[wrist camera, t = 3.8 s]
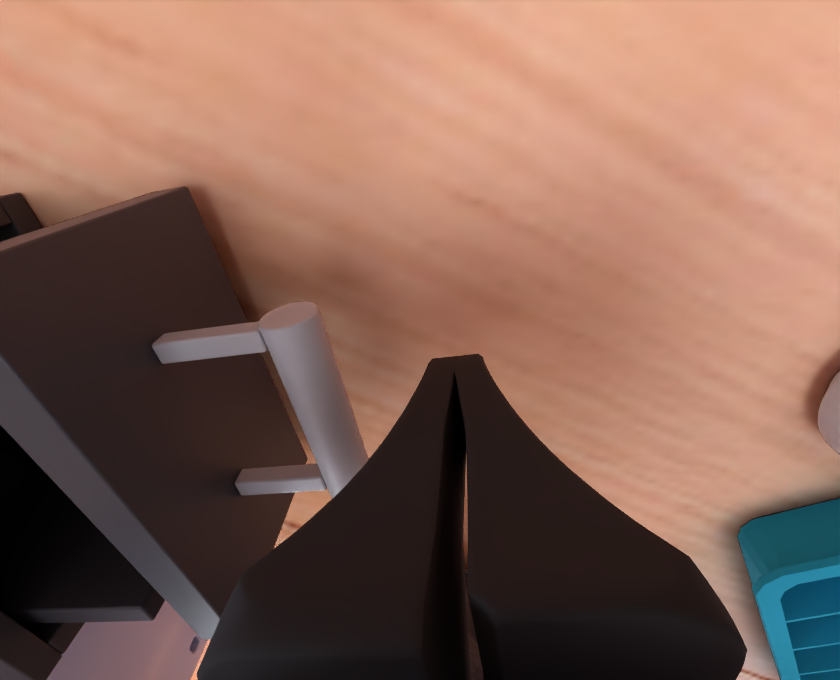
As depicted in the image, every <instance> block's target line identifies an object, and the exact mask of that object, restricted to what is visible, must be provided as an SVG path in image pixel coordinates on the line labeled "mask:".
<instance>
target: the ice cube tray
mask: <svg viewBox="0 0 840 680" xmlns="http://www.w3.org/2000/svg"><path fill="white" fill-rule="evenodd" d="M738 540H739V544H740V547H741V550H742V553H743V557H744V560H745V563H746V566H747V570H748V573H749V576H750V579H751V583H752V591H753V594H754V597H755V600H756V603H757V607H758V610H759V613H760V616H761V620H762V623H763V626H764V629H765V632H766V636H767V639H768V642H769V645H770V648H771V652H772V655H773V658H774V661H775V664H776V668H777V671H778V674H779V677H780V680H840V498H839V499H834V500H830V501H826V502H822V503H818V504H814V505H810V506H805V507H801V508H797V509H793V510H789V511H785V512H781V513H777V514H772V515H768V516H764V517H760V518H756V519H752V520H751V521H750V522H748V523H747V524H745V525H744V526H743V527H741V529H740V532H739V534H738Z"/></svg>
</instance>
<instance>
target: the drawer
mask: <svg viewBox="0 0 840 680" xmlns="http://www.w3.org/2000/svg"><path fill="white" fill-rule="evenodd" d="M267 350H269V352H270V355H271V357H272V359H273V362H274V364H275V366H276V369H277V371H278V373H279V376H280V378H281V380H282V383H283V385H284V387H285V390H286V392H287V394H288V397H289V399H290V401H291V404H292V406H293V408H294V411H295V413H296V415H297V418H298V420H299V422H300V425H301V427H302V429H303V432H304V434H305V436H306V439H307V441H308V443H309V446H310V448H311V450H312V453H313V455H314V457H315V460H316V462H317V463H316V464H306V462H307V456H306V454H305V452H304V449H303V447H302V445H301V443H300V440H299V438H298V436H297V434H296V431H295V429H294V427H293V424H292V422H291V420H290V418H289V415H288V413H287V411H286V409H285V406H284V404H283V402H282V400H281V397H280V395H279V393H278V390H277V388H276V386H275V384H274V381H273V379H272V377H271V375H270V372H269V370H268V368H267V366H266V363H265V361H264V359H263V356H262V354H261V352H266V351H267ZM368 460H369V459H368V456H367V453H366V450H365V447H364V444H363V441H362V438H361V435H360V432H359V428H358V425H357V422H356V419H355V416H354V413H353V410H352V407H351V404H350V401H349V398H348V395H347V392H346V389H345V386H344V383H343V380H342V377H341V374H340V371H339V368H338V365H337V362H336V359H335V356H334V353H333V350H332V347H331V344H330V341H329V338H328V335H327V332H326V329H325V326H324V323H323V320H322V317H321V314H320V311H319V308H318V306H317V305H316V304H315V303H313V302H309V301H300V302H293V303H289V304H285V305H282V306H279V307H277V308H275V309H273V310H271V311H269V312H268V313H266V314H265V315H264V316H262V317H261V319H260V320H259V321H258V322H250V323H248V322H247V320H246V318H245V316H244V313H243V311H242V309H241V307H240V304H239V302H238V300H237V298H236V295H235V293H234V291H233V288H232V286H231V284H230V282H229V279H228V277H227V275H226V273H225V270H224V268H223V266H222V264H221V261H220V259H219V257H218V254H217V252H216V250H215V248H214V245H213V243H212V241H211V239H210V236H209V234H208V232H207V230H206V227H205V225H204V223H203V220H202V218H201V216H200V214H199V211H198V209H197V207H196V205H195V202H194V200H193V198H192V196H191V193H190V191H189V189H188V187H185V186H184V187H178V188H173V189H167V190H162V191H156V192H151V193H148V194H145V195H142V196H139V197H136V198H133V199H130V200H127V201H124V202H121V203H118V204H115V205H112V206H109V207H106V208H103V209H99V210H96V211H93V212H90V213H87V214H84V215H81V216H78V217H75V218H72V219H69V220H66V221H63V222H60V223H57V224H54V225H51V226H48V227H45V228H42V229H39V230H36V231H33V232H30V233H26V234H23V235H20V236H17V237H14V238H11V239H8V240H5V241H2V242H0V610H1V611H2V612H4V613H5V614H6V615H8V616H9V617H10V618H12V619H13V620H15V621H16V622H17V623H19V624H27V623H75V622H122V621H153V620H154V619H155V618H156V616H157V614H158V612H159V611H160V609H161V607H162V605H163V603H164V602H165V600H166V601H167V602H168V603H169V604H170V606H171V607H172V608H173V609H174V610H175V611H176V612H177V613H178V614H179V615H180V616H181V617H182V618H183V619H184V620H185V621H186V623H187V624H188V625H189V626H190V627H191V628H192V629H193V630H194V631H195V632H196V633H197V634H198V635H199V636H200V637H201V638H202V639H203V640H208V639H212V637H213V634H214V632H215V630H216V627H217V625H218V623H219V620H220V618H221V615H222V613H223V611H224V609H225V606H226V604H227V602H228V600H229V598H230V596H231V594H232V592H233V590H234V588H235V586H236V585H237V583H238V581H239V579H240V577H241V575H242V573H243V572H244V571H246V570H247V569H248V568H250V567H251V566H252V565H254V564H255V563H256V562H258V561H259V560H260V559H262V558H263V557H264V556H265V555H267V554H268V553H269V552H271V551H272V550H273V549H274V546H275V543H276V541H277V538H278V535H279V533H280V530H281V528H282V525H283V522H284V520H285V517H286V514H287V512H288V509H289V507H290V504H291V501H292V499H293V496H294V493H295V492H304V491H319V490H326V489H327V488H328V490H329V493H330V495H331V497H332V498H334V497H335V496H336V495H337V494H338V493H339V492H340V491H341V490H342V489H343V488H344V487H345V486H346V485H347V483H348V482H349V481H350V480H351V479H352V478H353V477H354V476H355V475H356V474H357V472H358V471H359V470H360V469H361V468H362V467H363V466H364V465H365V463H366V462H367V461H368Z"/></svg>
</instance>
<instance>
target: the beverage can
mask: <svg viewBox="0 0 840 680" xmlns="http://www.w3.org/2000/svg"><path fill="white" fill-rule="evenodd" d="M818 428H819V431H820V433H821V435H822V437H823V438H824V440H825V441H826V442H827V443H828V444H829V445H830V446H831V447H832V448H833V449H834V450H835V451H836V452H837V453H838V454H839V455H840V371H839V372H838V373H837V374H836V376H835V377H834V378H833V380H832V382H831V383H830V385H829V387H828V389H827V392H826V394H825V395H824V397H823V399H822V401H821V404H820V407H819V411H818Z"/></svg>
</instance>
